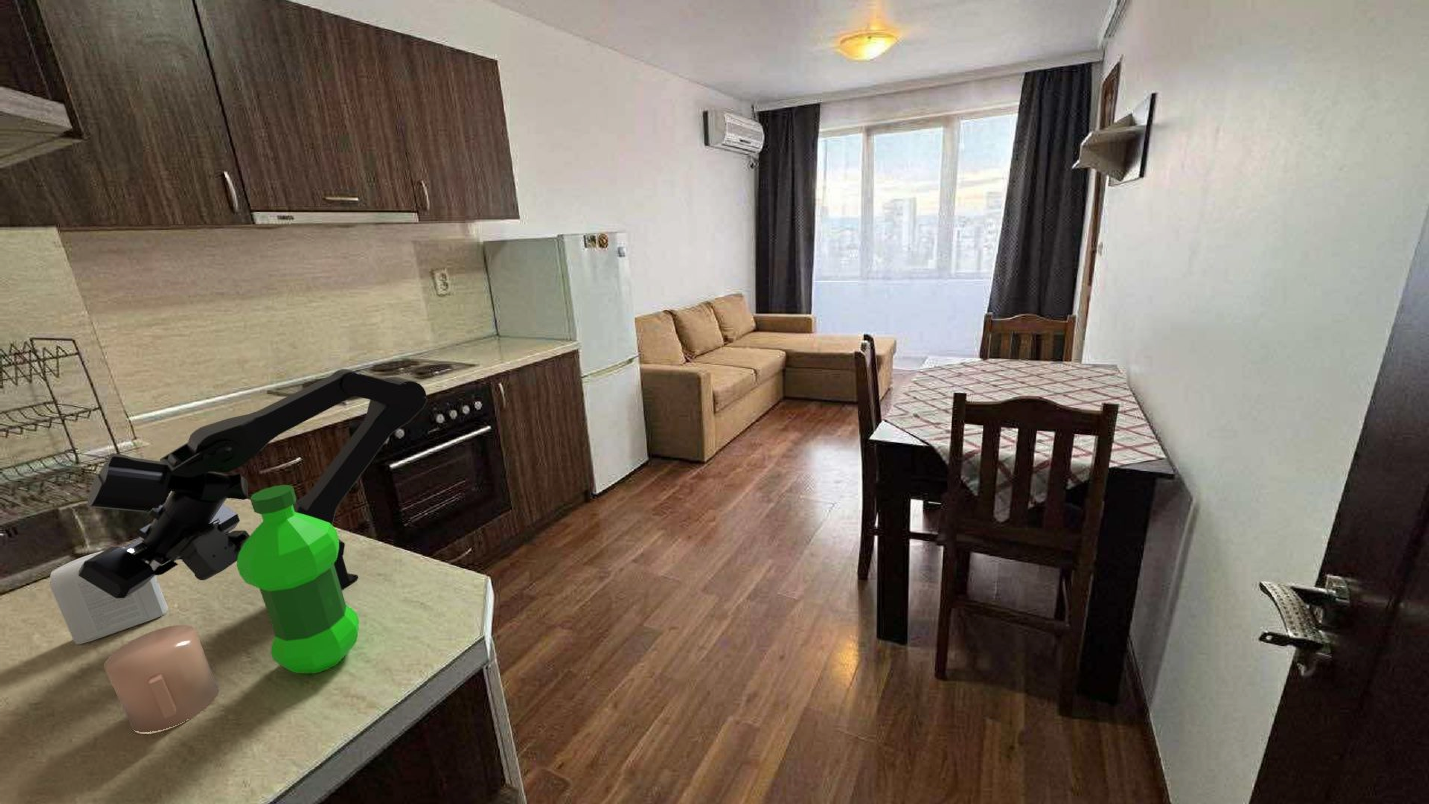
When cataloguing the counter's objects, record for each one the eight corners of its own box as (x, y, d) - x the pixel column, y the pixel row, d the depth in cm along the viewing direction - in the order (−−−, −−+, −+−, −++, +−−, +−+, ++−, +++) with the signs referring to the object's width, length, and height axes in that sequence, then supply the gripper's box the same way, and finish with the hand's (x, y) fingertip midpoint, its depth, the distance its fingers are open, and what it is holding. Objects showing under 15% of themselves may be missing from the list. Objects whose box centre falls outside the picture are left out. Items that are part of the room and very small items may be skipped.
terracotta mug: (133, 707, 71) (106, 648, 69) (216, 672, 76) (194, 616, 74) (130, 754, 65) (100, 690, 62) (221, 712, 70) (197, 652, 67)
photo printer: (169, 603, 92) (141, 535, 88) (169, 615, 89) (141, 545, 85) (76, 636, 85) (43, 564, 82) (74, 650, 82) (39, 576, 79)
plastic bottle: (308, 698, 71) (248, 519, 64) (262, 673, 76) (201, 503, 68) (383, 646, 80) (338, 482, 72) (338, 626, 84) (291, 470, 77)
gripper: (183, 582, 73) (132, 656, 77) (290, 511, 91) (244, 574, 94) (100, 530, 71) (51, 609, 75) (225, 467, 89) (181, 533, 92)
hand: (143, 579), depth 84 cm, fingers closed
